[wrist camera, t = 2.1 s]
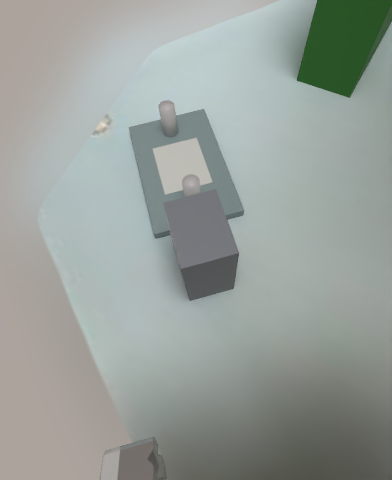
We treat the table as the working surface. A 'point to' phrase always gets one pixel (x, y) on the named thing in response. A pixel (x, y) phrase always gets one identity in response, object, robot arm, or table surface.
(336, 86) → the hardback book
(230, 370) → the table surface
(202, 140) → the tray
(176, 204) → the block
